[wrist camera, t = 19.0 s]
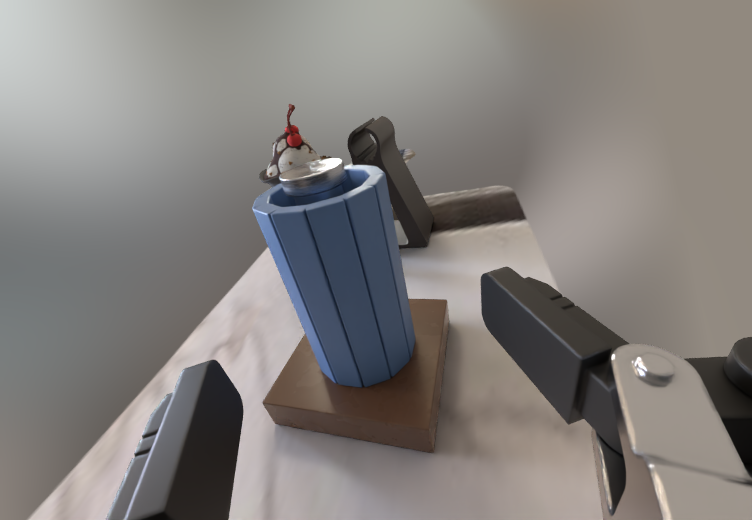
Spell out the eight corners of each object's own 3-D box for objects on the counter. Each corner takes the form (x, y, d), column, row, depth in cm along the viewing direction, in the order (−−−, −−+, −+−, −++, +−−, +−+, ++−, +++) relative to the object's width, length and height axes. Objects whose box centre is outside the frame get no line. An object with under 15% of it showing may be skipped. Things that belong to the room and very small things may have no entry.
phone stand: (434, 221, 36) (422, 108, 30) (427, 247, 31) (411, 119, 25) (362, 225, 39) (337, 124, 33) (346, 250, 34) (313, 136, 28)
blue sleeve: (302, 380, 17) (223, 217, 12) (340, 311, 22) (294, 172, 17) (403, 393, 15) (358, 206, 10) (421, 314, 20) (396, 158, 15)
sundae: (352, 273, 30) (303, 101, 22) (287, 281, 31) (220, 120, 23) (361, 241, 35) (324, 95, 28) (305, 248, 36) (256, 110, 29)
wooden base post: (274, 424, 18) (147, 219, 11) (334, 316, 25) (278, 154, 18) (433, 454, 15) (384, 198, 8) (449, 321, 22) (429, 129, 15)
